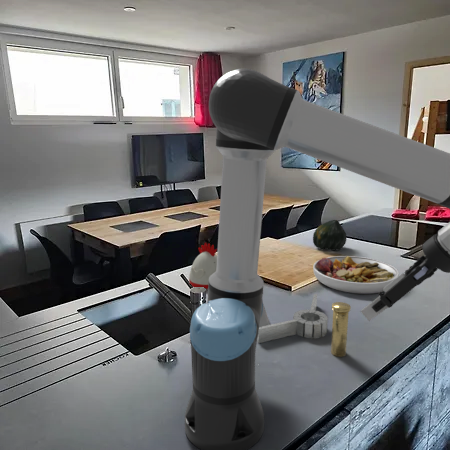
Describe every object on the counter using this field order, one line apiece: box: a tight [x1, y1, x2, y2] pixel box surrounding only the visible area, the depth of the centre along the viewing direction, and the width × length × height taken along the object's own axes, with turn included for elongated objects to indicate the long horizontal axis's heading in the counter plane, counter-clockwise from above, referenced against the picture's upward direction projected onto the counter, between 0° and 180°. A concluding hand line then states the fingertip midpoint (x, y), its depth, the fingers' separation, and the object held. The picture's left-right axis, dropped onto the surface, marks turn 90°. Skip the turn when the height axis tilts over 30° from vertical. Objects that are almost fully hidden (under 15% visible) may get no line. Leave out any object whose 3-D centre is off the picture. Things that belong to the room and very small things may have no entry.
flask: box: [259, 299, 271, 327], centre depth 115 cm, size 7×7×10 cm
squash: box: [312, 219, 347, 251], centre depth 186 cm, size 14×15×15 cm
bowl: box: [312, 255, 400, 295], centre depth 147 cm, size 30×30×8 cm
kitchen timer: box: [188, 242, 218, 290], centre depth 147 cm, size 14×14×15 cm
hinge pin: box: [330, 301, 352, 358], centre depth 99 cm, size 4×4×13 cm
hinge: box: [257, 293, 329, 344], centre depth 115 cm, size 27×18×4 cm, turn 163°
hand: (376, 303), depth 91 cm, fingers open, 13 cm apart
